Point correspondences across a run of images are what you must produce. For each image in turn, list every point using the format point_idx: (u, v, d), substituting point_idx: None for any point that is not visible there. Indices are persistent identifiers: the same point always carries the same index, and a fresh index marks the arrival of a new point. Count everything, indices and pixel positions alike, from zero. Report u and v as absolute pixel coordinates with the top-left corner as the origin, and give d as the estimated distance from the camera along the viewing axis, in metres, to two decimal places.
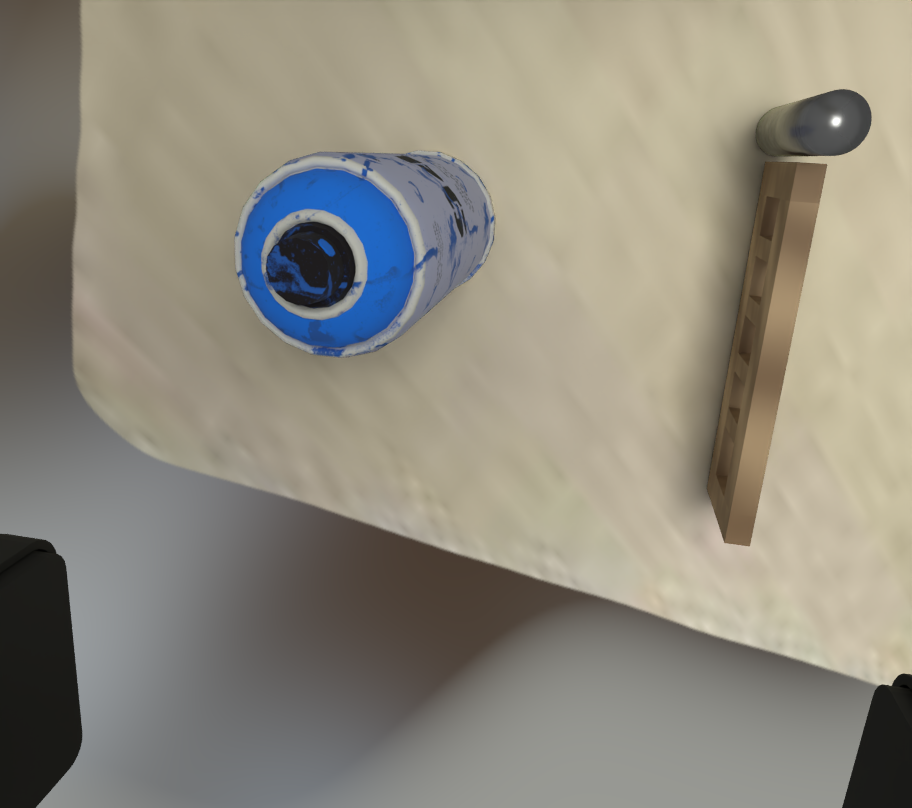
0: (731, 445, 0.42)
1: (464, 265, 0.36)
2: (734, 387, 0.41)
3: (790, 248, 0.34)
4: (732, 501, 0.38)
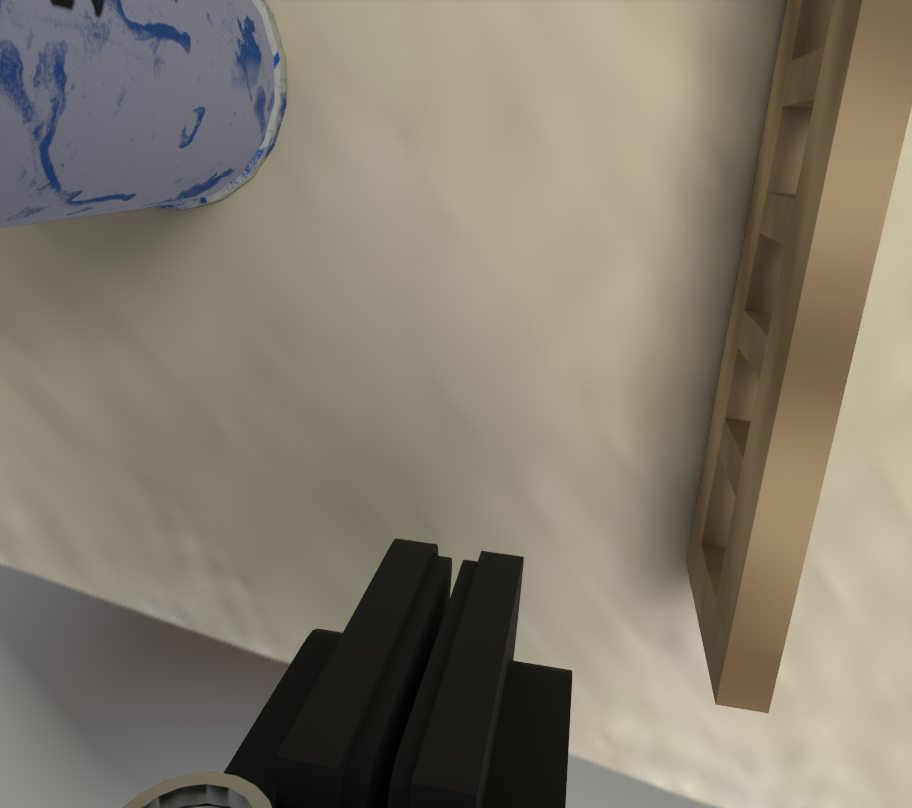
0: (730, 490, 0.22)
1: (129, 105, 0.16)
2: (737, 379, 0.21)
3: (878, 38, 0.14)
4: (732, 622, 0.18)
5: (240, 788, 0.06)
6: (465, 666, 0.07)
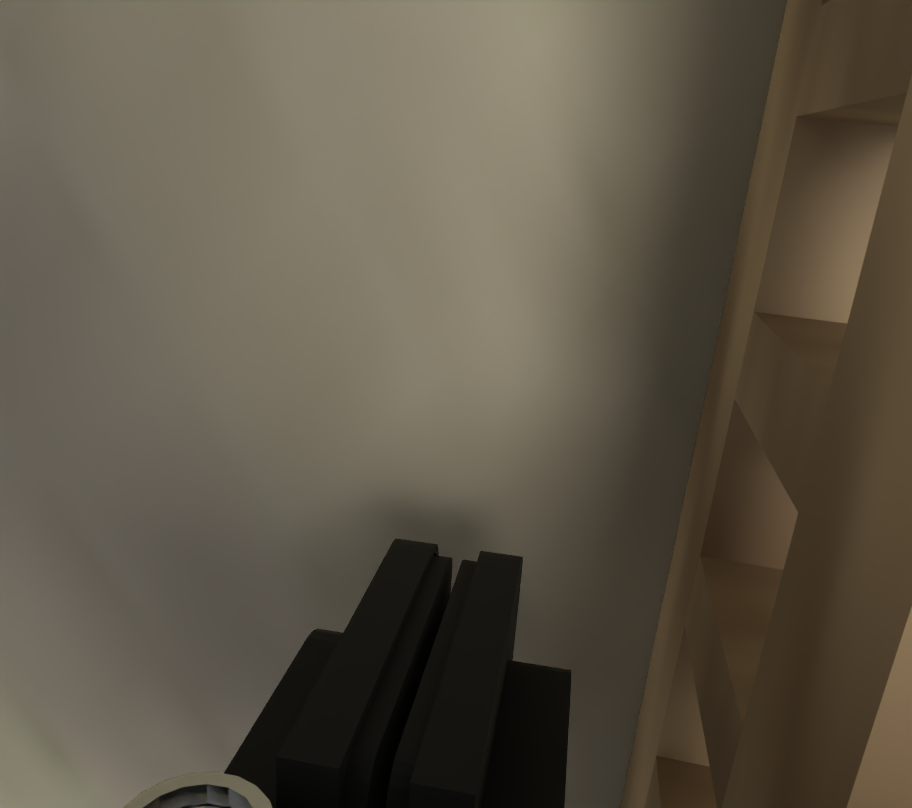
0: None
1: None
2: (683, 687, 0.10)
3: None
4: None
5: (241, 789, 0.06)
6: (464, 666, 0.07)
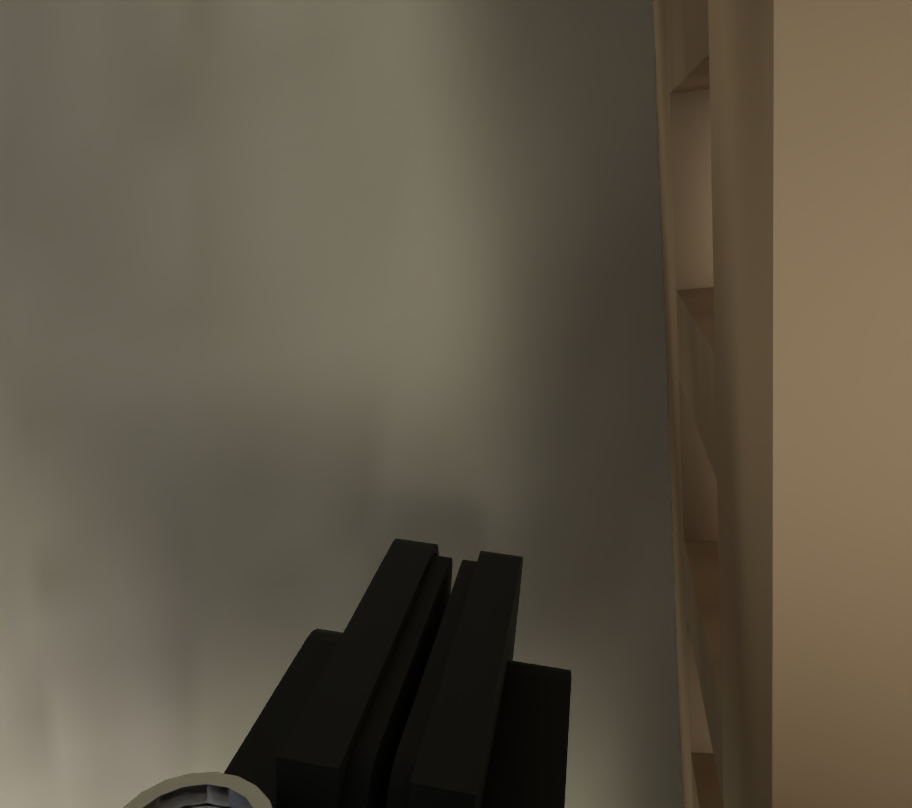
0: None
1: None
2: None
3: None
4: None
5: (241, 788, 0.06)
6: (464, 666, 0.07)
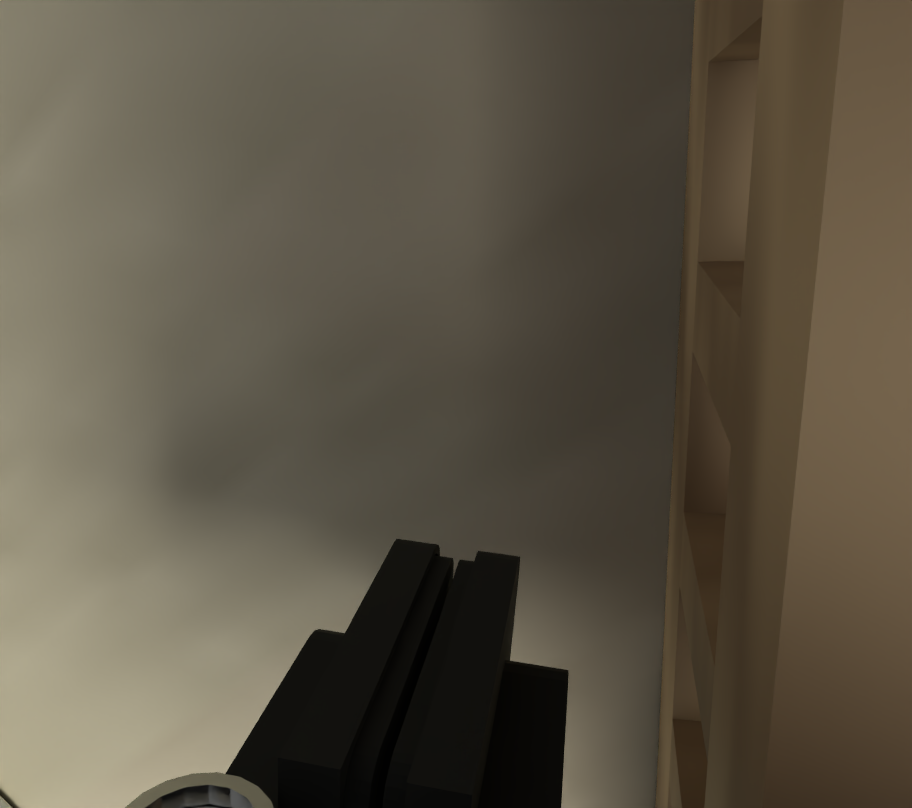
0: None
1: None
2: (689, 647, 0.10)
3: None
4: None
5: (242, 789, 0.06)
6: (460, 666, 0.07)
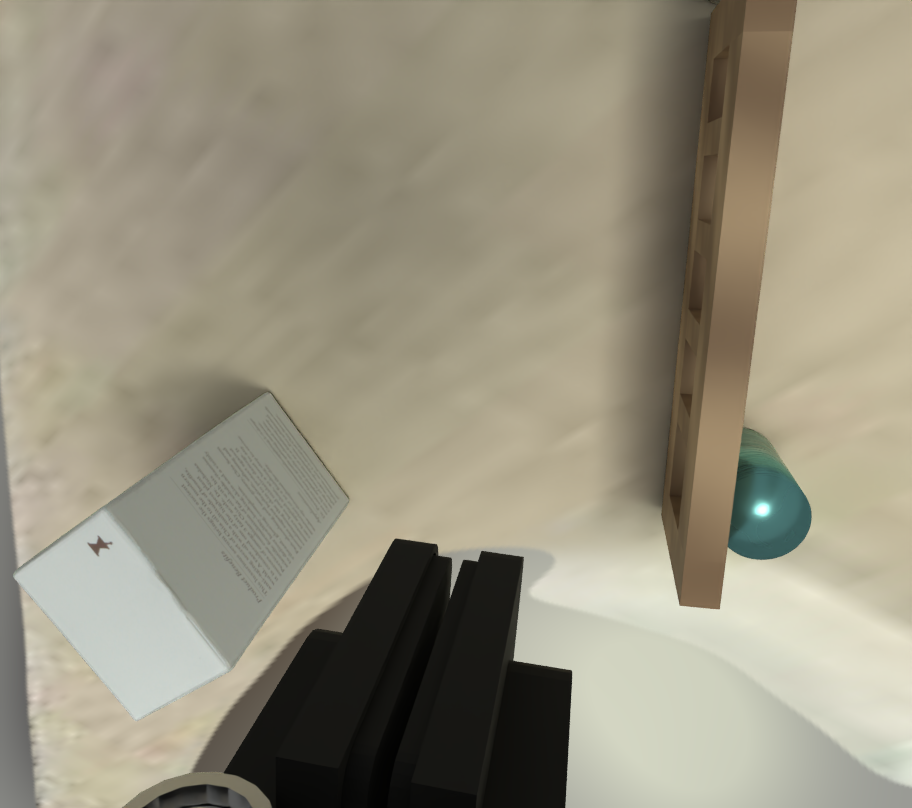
0: None
1: None
2: (687, 362, 0.27)
3: (749, 114, 0.20)
4: (687, 540, 0.24)
5: (240, 788, 0.06)
6: (464, 666, 0.07)
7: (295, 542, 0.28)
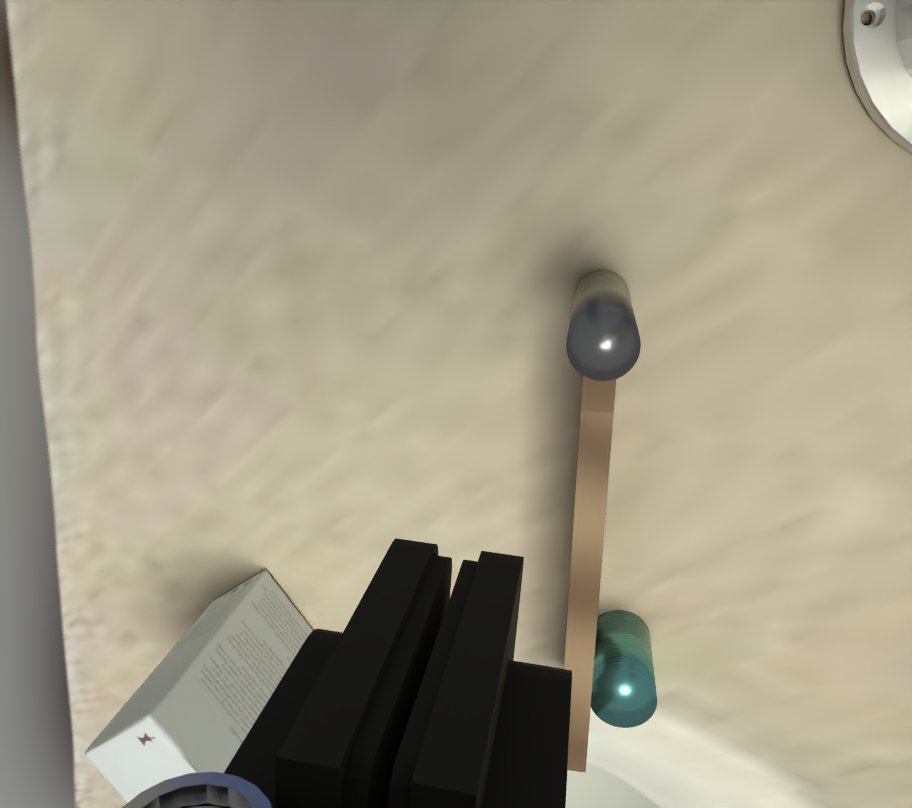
0: None
1: None
2: None
3: (587, 460, 0.30)
4: None
5: (240, 788, 0.06)
6: (465, 666, 0.07)
7: None
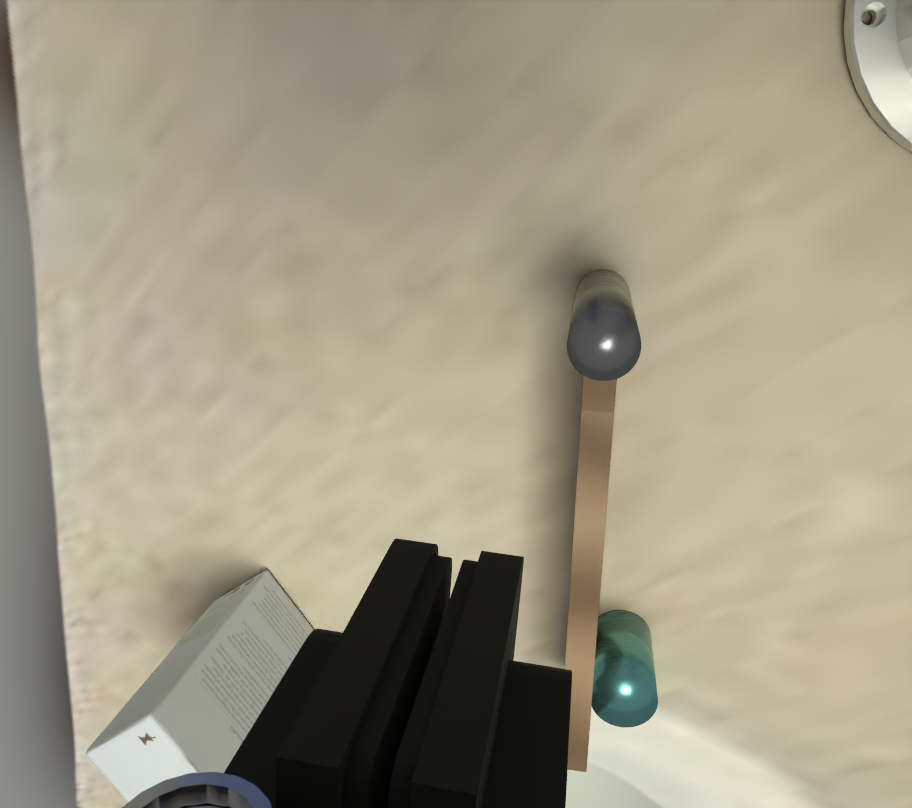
0: None
1: None
2: None
3: (588, 460, 0.30)
4: None
5: (240, 788, 0.06)
6: (465, 666, 0.07)
7: None
